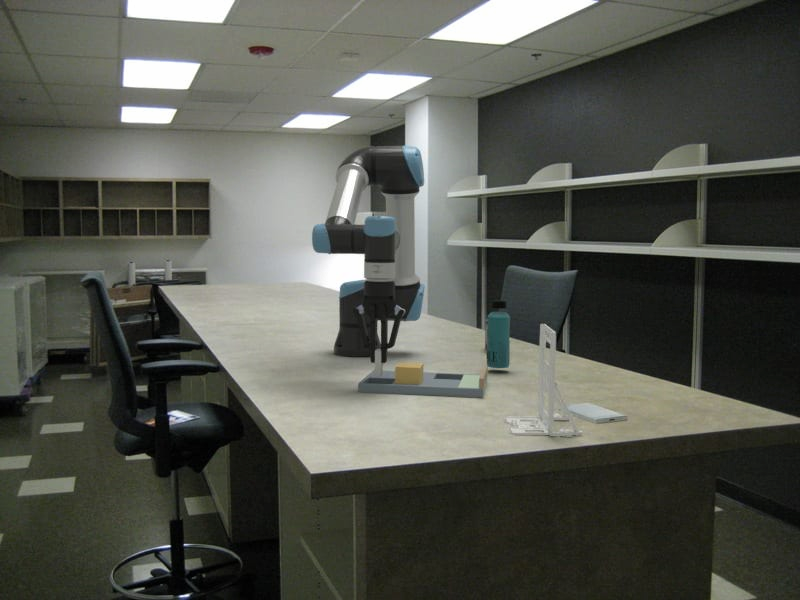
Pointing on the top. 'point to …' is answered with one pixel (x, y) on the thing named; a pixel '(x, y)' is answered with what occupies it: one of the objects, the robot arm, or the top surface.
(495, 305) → the beverage bottle
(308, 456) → the top surface
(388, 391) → the board
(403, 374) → the ochre block
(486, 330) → the brown semicircular wedge
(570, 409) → the hard drive
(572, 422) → the white bracket stand
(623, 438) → the top surface
